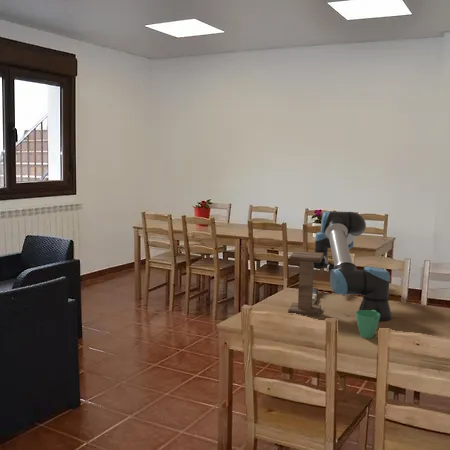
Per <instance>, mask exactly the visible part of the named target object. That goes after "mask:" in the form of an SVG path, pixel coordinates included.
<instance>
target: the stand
mask: <svg viewBox="0 0 450 450" xmlns="http://www.w3.org/2000/svg"><path fill="white" fill-rule="evenodd" d="M323 257H324V253H319V252H315V251H304V250H303V251H301V250H294V251H293V252H292V253H291V254H290V256H289V261H291V262H292V261H293V262H300V267H298V268H299V270H298V271H299V273H298V298H297V302H292V303H291V305H290V306H289V308H288V310H287V314H288V313H296V314H301V315H300V316H303V315H308V316H307V317H314V318H318V317H319V315H320V312H321V310H322V305H321V304H312V295H313V288H314V272H315V271H314V268H315V267H314V262H317V263H320V262H321V260H322V258H323Z"/></svg>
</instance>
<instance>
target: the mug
mask: <svg viewBox="0 0 450 450" xmlns="http://www.w3.org/2000/svg"><path fill="white" fill-rule="evenodd" d="M358 310H359V309H358ZM358 310H357V311H356V312H355V317H356V323H357V324H356V325H357V329H358V332H359V334H360V337H361V336H362V337H361V338H363V337H366V338H365V339H372V338H374V335H375V333H376V331H377V328H378V326H379V323H380V321H379V319H380V313H378V312H377V311H376V310H371V311H370V310H359V311H358ZM371 337H372V338H371Z"/></svg>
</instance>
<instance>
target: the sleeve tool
mask: <svg viewBox="0 0 450 450" xmlns="http://www.w3.org/2000/svg"><path fill="white" fill-rule="evenodd" d="M318 294H319V288H314V287H313V295H312V304H313V305H315V304H316V301H317V300H318V299H317V297H318Z"/></svg>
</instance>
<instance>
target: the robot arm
mask: <svg viewBox="0 0 450 450" xmlns="http://www.w3.org/2000/svg"><path fill="white" fill-rule="evenodd" d="M320 222H321V223H320V224H321V225H320V231H318V232H316V234H315V240H314V241H315V242H314V248H315V249H314V252H319V253H324V257H323V258H322V260H321V262H320V263H317V262H314V268H315V269H316V270H321V269H326V272H327V273H328V272H330V273H329V281H330V287H331V290H332V292H333V293H334V294H336V295H341V296H344V295H348V296H350V295H351V296H352V295H353V296H356V295H357V296H359V295H360V296H361V295H362V301H361V303H360V305H359V307H358V310H357V311H359V310H370V311H371V310H376V311H377V312H378V313H380V319H379V322H385V321H390V320H391V319H392V311H391V306H390V303H389V294H390V282H391V280H390V278H391V277H390V272H389V271H388V270H386V269H384V268H381V267H378V266H377V267H376V266H364V268H363V269H357V267H358V266H357V265H356V264H355V263H353V261H352V256H351V252H350V250H351V249H353V247H354V240H355V239H356V238H357V237H358V236H361V235H362V234H363V233H364V232H365V230H366V227H367V223H366V220H365V218H364V217H363V216H362V215H360V214H359V213H357V212H355V211H354V212H353V211H334V210H333V211H332V210H330V211H327V210H326V211H324V212H323V213H322V215H321V221H320ZM329 249H331V255H332V261H333V263H332V262H331V261H328V259H329V256H328V253H329ZM297 263H298V265H297V266H298V268H299V267H300V261H297ZM329 270H330V271H329Z"/></svg>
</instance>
